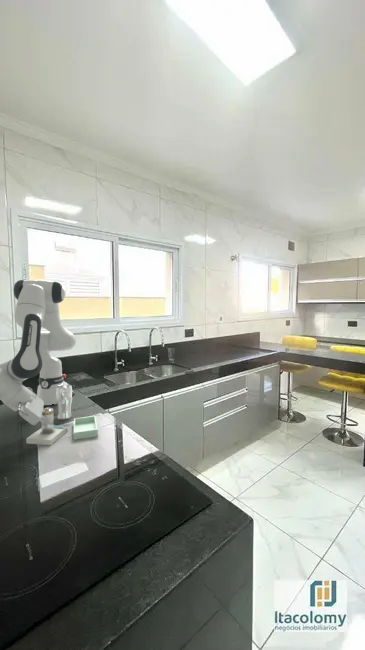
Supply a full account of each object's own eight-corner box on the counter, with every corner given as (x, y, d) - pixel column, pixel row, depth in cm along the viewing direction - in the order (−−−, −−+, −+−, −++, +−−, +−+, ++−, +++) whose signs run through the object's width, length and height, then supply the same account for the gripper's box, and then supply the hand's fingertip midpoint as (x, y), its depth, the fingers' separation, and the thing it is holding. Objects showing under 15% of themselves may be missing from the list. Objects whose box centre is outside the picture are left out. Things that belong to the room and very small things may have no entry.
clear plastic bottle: (66, 420, 128) (66, 388, 127) (53, 419, 129) (52, 387, 128) (75, 415, 135) (75, 384, 134) (62, 413, 136) (62, 383, 135)
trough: (74, 424, 124) (73, 418, 124) (95, 421, 127) (95, 415, 127) (73, 439, 110) (73, 432, 109) (97, 436, 113) (97, 429, 113)
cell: (45, 428, 114) (45, 405, 113) (56, 429, 114) (55, 406, 113) (39, 433, 110) (38, 409, 109) (49, 434, 109) (49, 410, 108)
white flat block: (45, 429, 118) (45, 424, 118) (67, 431, 117) (67, 425, 117) (26, 443, 106) (26, 437, 106) (50, 445, 105) (50, 439, 105)
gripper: (23, 401, 98) (54, 423, 103) (29, 386, 117) (55, 405, 122) (9, 415, 97) (41, 437, 101) (17, 397, 115) (44, 417, 120)
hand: (49, 420), depth 112 cm, fingers closed on cell, 4 cm apart
